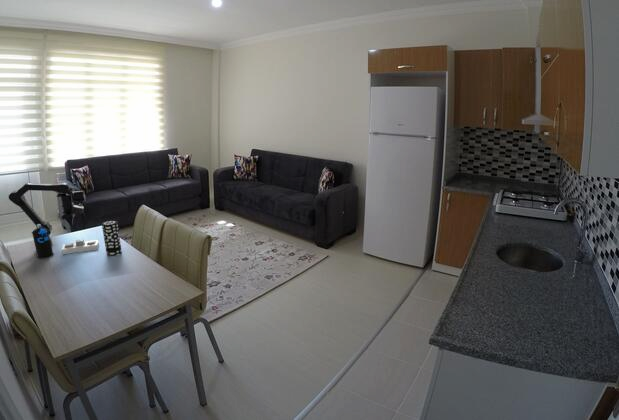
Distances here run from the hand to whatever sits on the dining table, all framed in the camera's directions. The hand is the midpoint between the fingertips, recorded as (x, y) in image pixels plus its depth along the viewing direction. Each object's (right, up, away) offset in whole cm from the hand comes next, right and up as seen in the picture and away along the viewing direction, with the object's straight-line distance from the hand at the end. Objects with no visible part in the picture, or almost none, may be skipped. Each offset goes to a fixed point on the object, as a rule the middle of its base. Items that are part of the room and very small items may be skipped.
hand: (71, 225), depth 234 cm
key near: (+5, -14, -9) cm, 18 cm away
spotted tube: (+35, -17, -12) cm, 40 cm away
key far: (+16, -13, -4) cm, 21 cm away
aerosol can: (-5, -18, -17) cm, 25 cm away
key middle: (+10, -12, -7) cm, 17 cm away
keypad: (+10, -15, -6) cm, 19 cm away
